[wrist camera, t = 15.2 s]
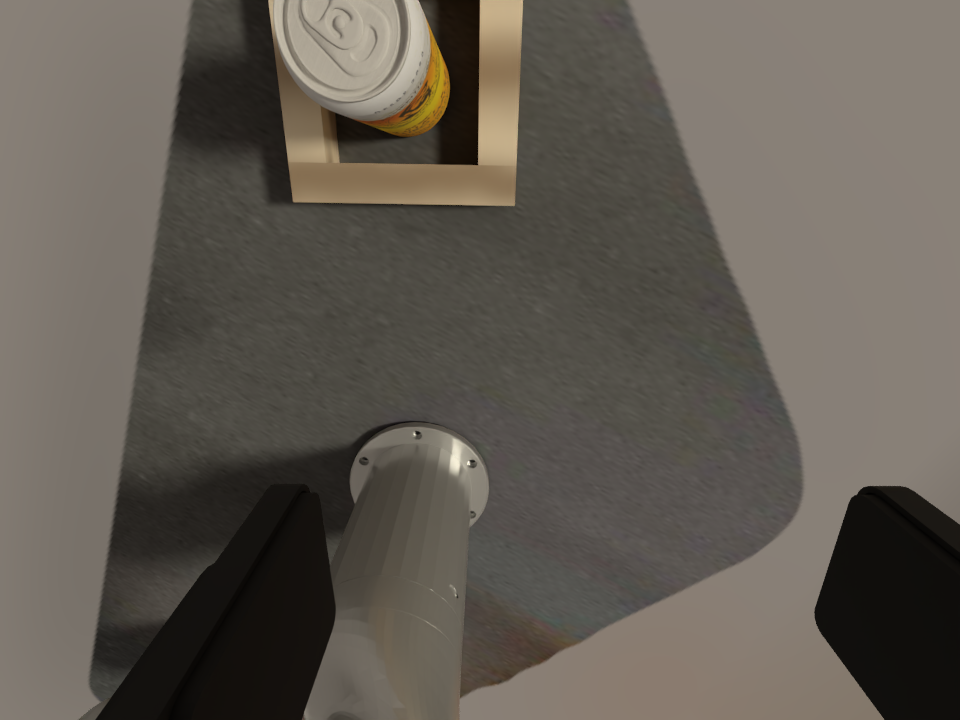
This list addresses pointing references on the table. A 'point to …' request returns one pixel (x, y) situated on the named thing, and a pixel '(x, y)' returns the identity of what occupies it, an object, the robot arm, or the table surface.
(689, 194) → the table surface
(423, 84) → the beer can
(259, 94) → the table surface
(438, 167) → the can holder
